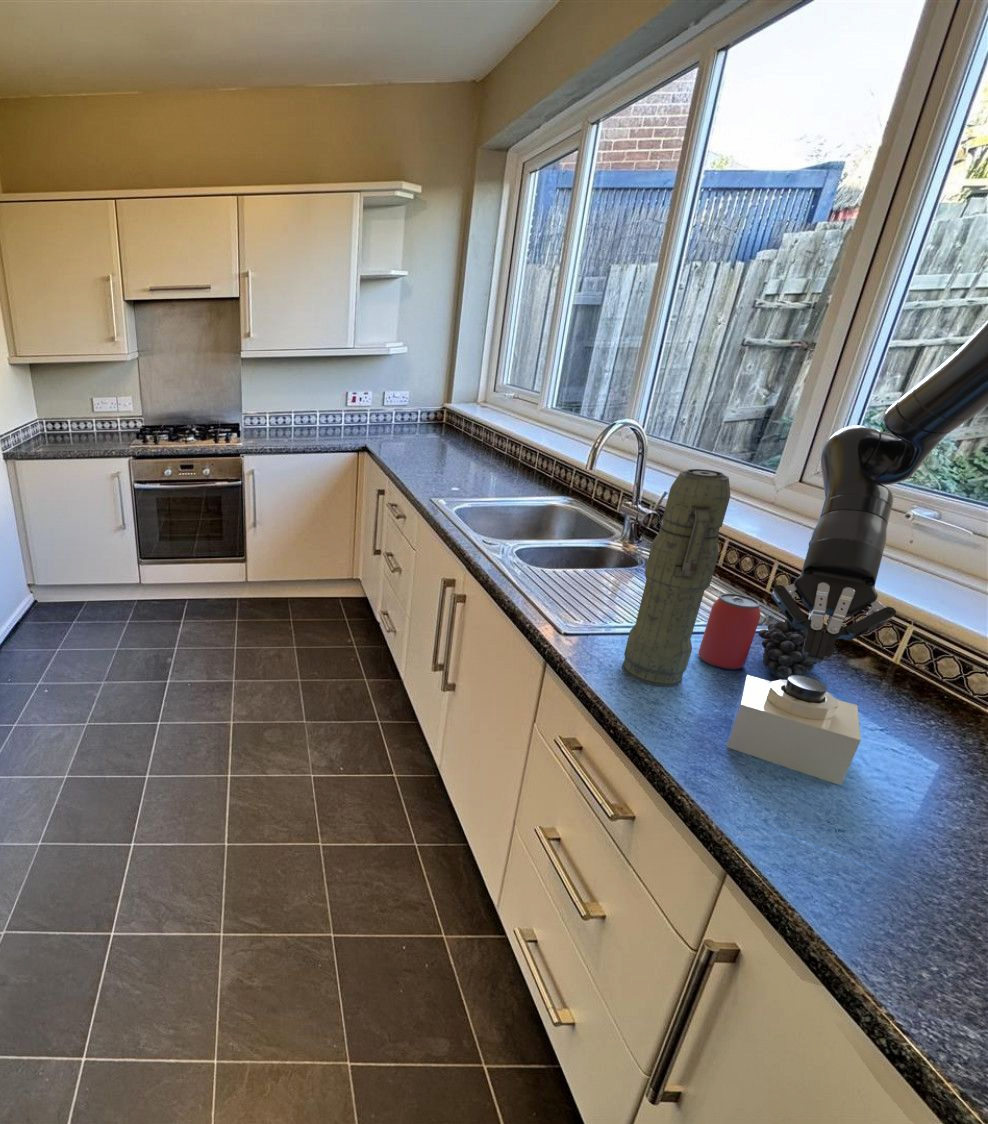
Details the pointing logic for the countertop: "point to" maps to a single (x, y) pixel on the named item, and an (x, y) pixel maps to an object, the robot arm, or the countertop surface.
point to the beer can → (730, 631)
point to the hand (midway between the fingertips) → (815, 659)
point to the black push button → (805, 689)
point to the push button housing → (795, 730)
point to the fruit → (785, 650)
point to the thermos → (677, 578)
